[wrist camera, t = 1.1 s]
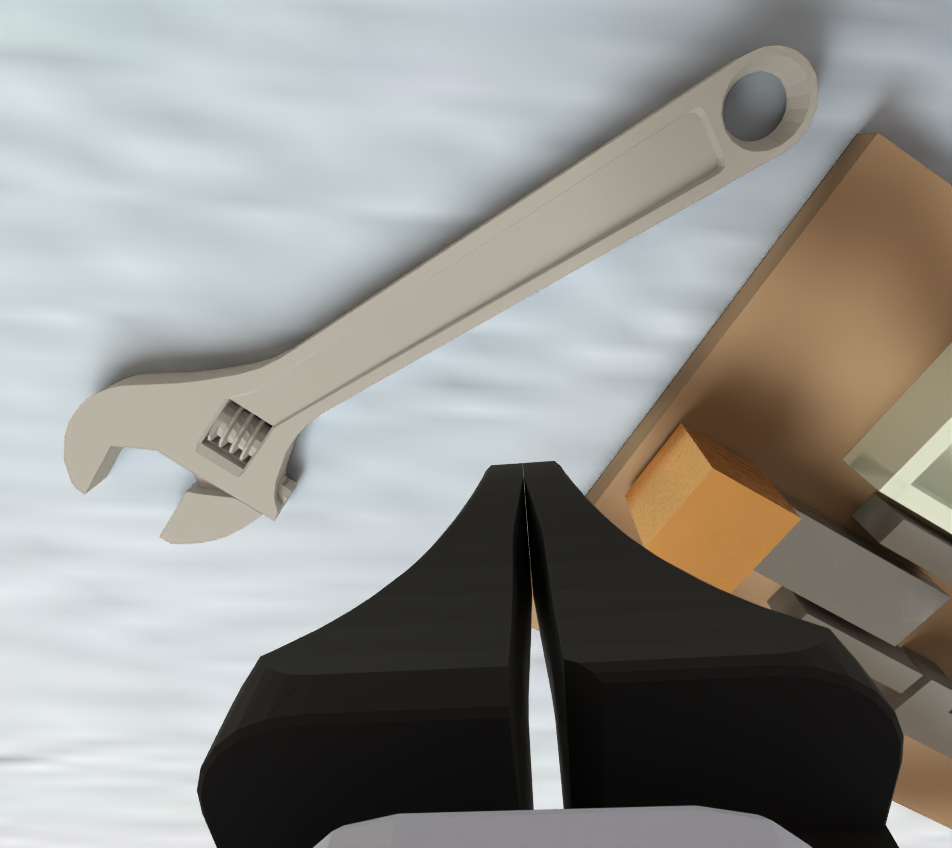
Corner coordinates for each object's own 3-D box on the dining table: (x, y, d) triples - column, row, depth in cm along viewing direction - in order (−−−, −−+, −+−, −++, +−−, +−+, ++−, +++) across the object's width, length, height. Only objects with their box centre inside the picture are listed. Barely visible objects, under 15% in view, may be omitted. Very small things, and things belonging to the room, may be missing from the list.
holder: (856, 134, 16) (918, 129, 14) (1378, 508, 20) (1496, 554, 18) (508, 598, 23) (509, 648, 21) (948, 812, 27) (992, 875, 24)
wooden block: (681, 423, 18) (712, 468, 16) (933, 567, 20) (1001, 631, 17) (624, 495, 19) (644, 549, 17) (867, 627, 21) (922, 695, 18)
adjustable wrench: (774, 28, 16) (806, 12, 14) (832, 252, 18) (866, 260, 16) (64, 409, 21) (28, 430, 19) (178, 547, 23) (154, 576, 21)
